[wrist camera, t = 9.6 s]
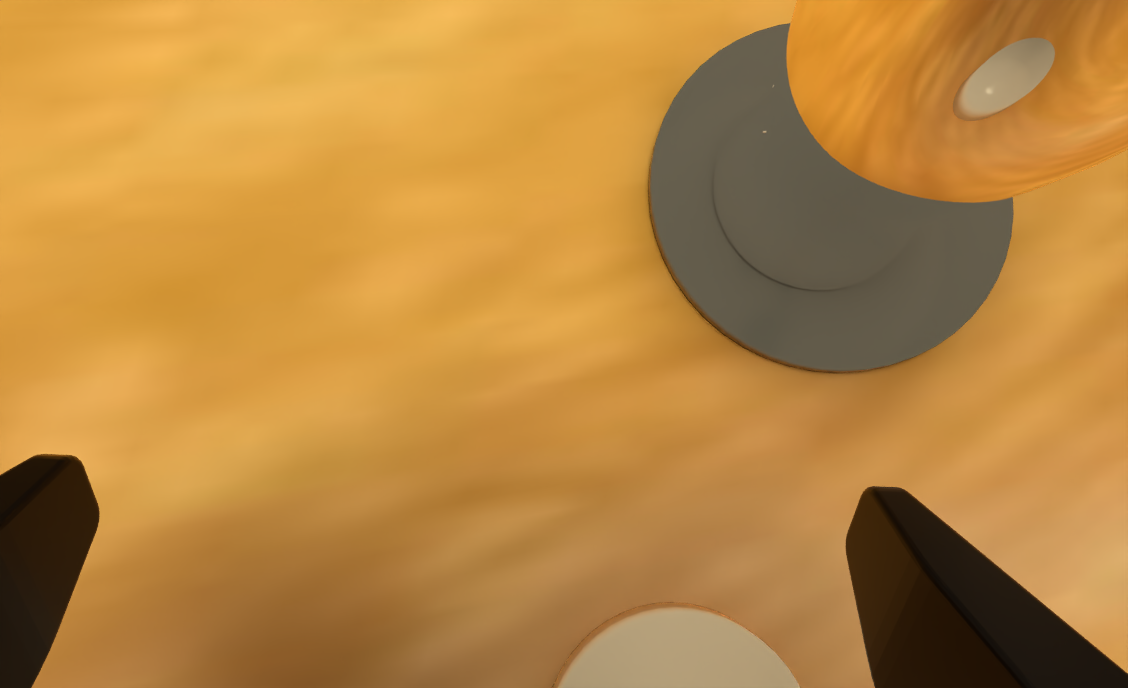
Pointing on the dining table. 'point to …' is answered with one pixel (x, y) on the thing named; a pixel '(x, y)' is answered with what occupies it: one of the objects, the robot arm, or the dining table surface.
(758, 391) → the dining table surface
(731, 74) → the coaster
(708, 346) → the dining table surface
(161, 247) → the dining table surface
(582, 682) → the dish
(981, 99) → the beer glass
